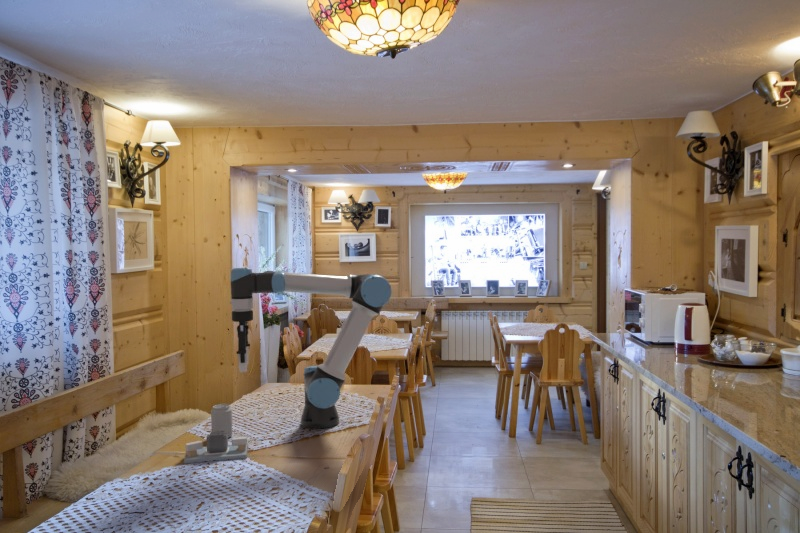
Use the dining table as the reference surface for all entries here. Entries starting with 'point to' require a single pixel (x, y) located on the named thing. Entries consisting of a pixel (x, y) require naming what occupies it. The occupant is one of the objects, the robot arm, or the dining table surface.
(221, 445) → the stepped grey block
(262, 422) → the dining table surface
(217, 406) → the can
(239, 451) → the rig
